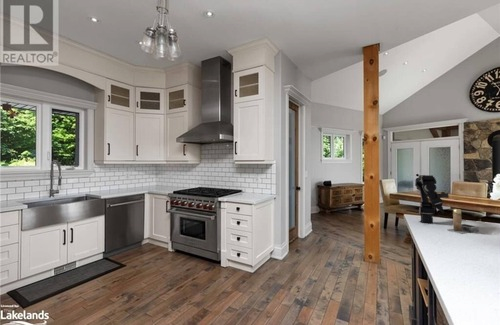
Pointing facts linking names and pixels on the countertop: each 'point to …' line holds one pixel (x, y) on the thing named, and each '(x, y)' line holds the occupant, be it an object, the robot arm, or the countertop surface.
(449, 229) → the pad
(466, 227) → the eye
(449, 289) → the countertop surface
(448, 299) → the countertop surface
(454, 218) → the hook peg
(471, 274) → the countertop surface
